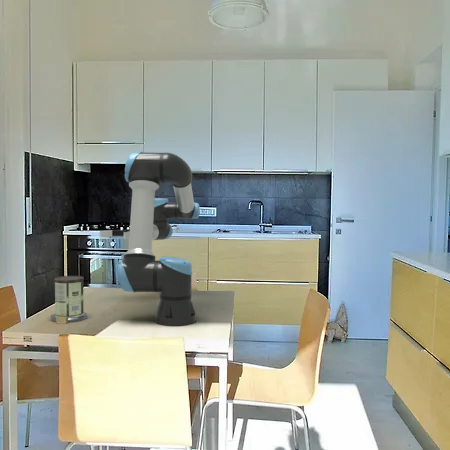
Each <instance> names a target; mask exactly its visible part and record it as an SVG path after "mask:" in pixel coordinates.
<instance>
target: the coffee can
mask: <svg viewBox="0 0 450 450" xmlns="http://www.w3.org/2000/svg"><path fill="white" fill-rule="evenodd" d="M84 279H85V277H84V276H81V275H64V276H56V277H54V304H55V306H54V309H55V310H54V314H55V317H57V316H68V318H77V317H80V316H83V315H84V312H85V311H84Z"/></svg>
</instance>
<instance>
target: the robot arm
mask: <svg viewBox="0 0 450 450" xmlns="http://www.w3.org/2000/svg"><path fill="white" fill-rule="evenodd" d="M124 179H125V181H126V182H127V183H128V187H129V188H131V190H132V192H131V193H132V194H131V207H130V208H131V209H130V220H129V228H126V229H108V230H99V238H109V239H111V238H112V237H123V239H124V240H128V250H127V251H126V252H125V253H124V254H123V259H120V260H118V265H117V277H118V283H119V286H120V288H121V289H122V291H123V292H131V293H159V301H158V304H157V308H156V311H155V314H154V322H155V323H156V324H159V325H162V326H163V325H164V326H170V327H171V326H187V325H192V324H193V323H196V321H197V313H196V310H195V307H194V304H193V301H192V294H193V293H192V285H193V284H192V275H193V271H192V263H191V261H190V260H188V259H186V258H181V257H176V256H167V255H166V256H160V258H159V260H156V255H155V254H154V253H153V241H161V240H162V241H163V240H167V239H168V240H169V238H171V237H172V235H173V233H174V232H173V230H174V229H173V228H172V225H171V224H170V223H169V219H171V220H172V219H175V220H176V219H180V220H194V219H195V220H196V219H199V217H200V210H201V209H200V204H199V203H198V202H195V201H194V194H193V189H192V188H193V187H192V181H193V171H192V169H191V167H190V165H189V164H188V163H187V161H185V160H184V159H183V158H182V157H180V156H178V155H177V154H174V153H172V152H148V151H147V152H143V151H139V152H132V153H130V154H129V155H128V157H127V158H126V162H125V167H124ZM160 183H161V184H162V183H163V184H164V183H167V184H170V185H171V186H172V187H173V191H174V195H175V200H176V202H174V201H173V202H171V201H169V198H162V197H161V198H159V197H157V198H156V191H157V190H159V189H160Z"/></svg>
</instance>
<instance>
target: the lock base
mask: <svg viewBox="0 0 450 450" xmlns="http://www.w3.org/2000/svg"><path fill="white" fill-rule="evenodd" d="M83 312H84V315H83V316H80V317H77V318H68V316H57V317H55V313H53V314H51V315H50V322H55V324H59V325H60V324H63V325H65V324H68V323H75V322H76V323H77V322H81V321H84V320H86V319H88V313H87V312H85V311H83Z"/></svg>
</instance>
